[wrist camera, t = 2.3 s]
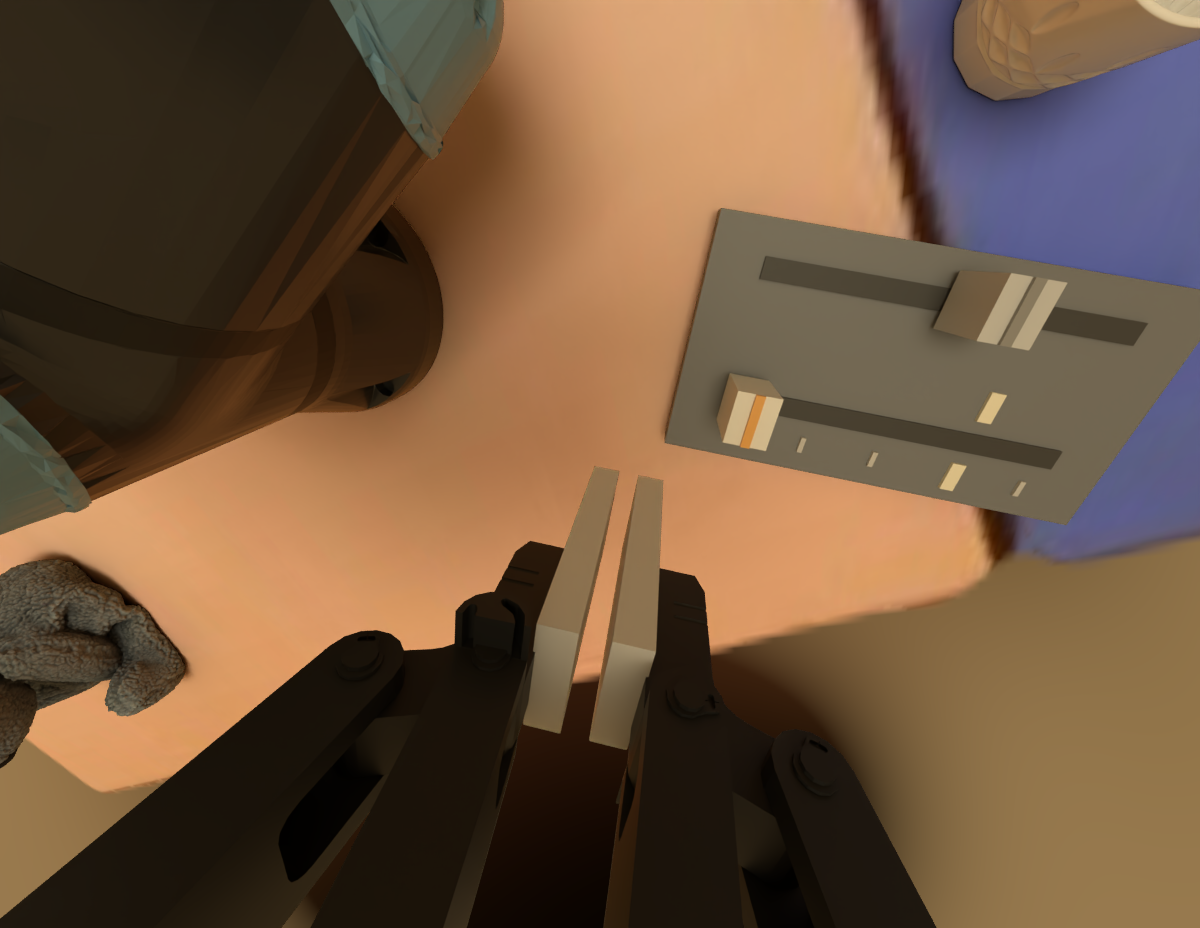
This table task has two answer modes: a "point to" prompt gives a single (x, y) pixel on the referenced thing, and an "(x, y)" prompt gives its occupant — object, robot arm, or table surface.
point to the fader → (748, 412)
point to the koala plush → (74, 647)
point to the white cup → (1062, 40)
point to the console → (923, 366)
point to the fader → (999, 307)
